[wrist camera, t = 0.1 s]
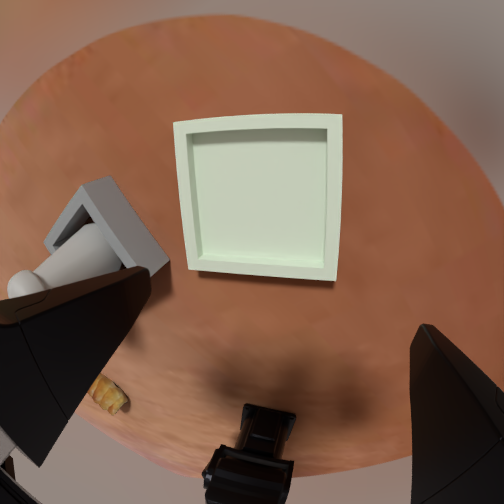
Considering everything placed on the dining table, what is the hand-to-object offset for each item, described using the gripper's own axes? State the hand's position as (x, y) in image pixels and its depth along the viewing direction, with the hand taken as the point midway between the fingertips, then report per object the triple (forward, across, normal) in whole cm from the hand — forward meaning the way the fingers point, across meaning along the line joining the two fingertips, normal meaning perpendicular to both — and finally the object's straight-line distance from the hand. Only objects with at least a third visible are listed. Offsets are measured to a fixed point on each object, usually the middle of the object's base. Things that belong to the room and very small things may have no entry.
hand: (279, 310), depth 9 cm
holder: (+15, +19, +7) cm, 25 cm away
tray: (+15, +4, 0) cm, 15 cm away
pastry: (+15, +26, +34) cm, 46 cm away
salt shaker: (+15, +19, +7) cm, 25 cm away
